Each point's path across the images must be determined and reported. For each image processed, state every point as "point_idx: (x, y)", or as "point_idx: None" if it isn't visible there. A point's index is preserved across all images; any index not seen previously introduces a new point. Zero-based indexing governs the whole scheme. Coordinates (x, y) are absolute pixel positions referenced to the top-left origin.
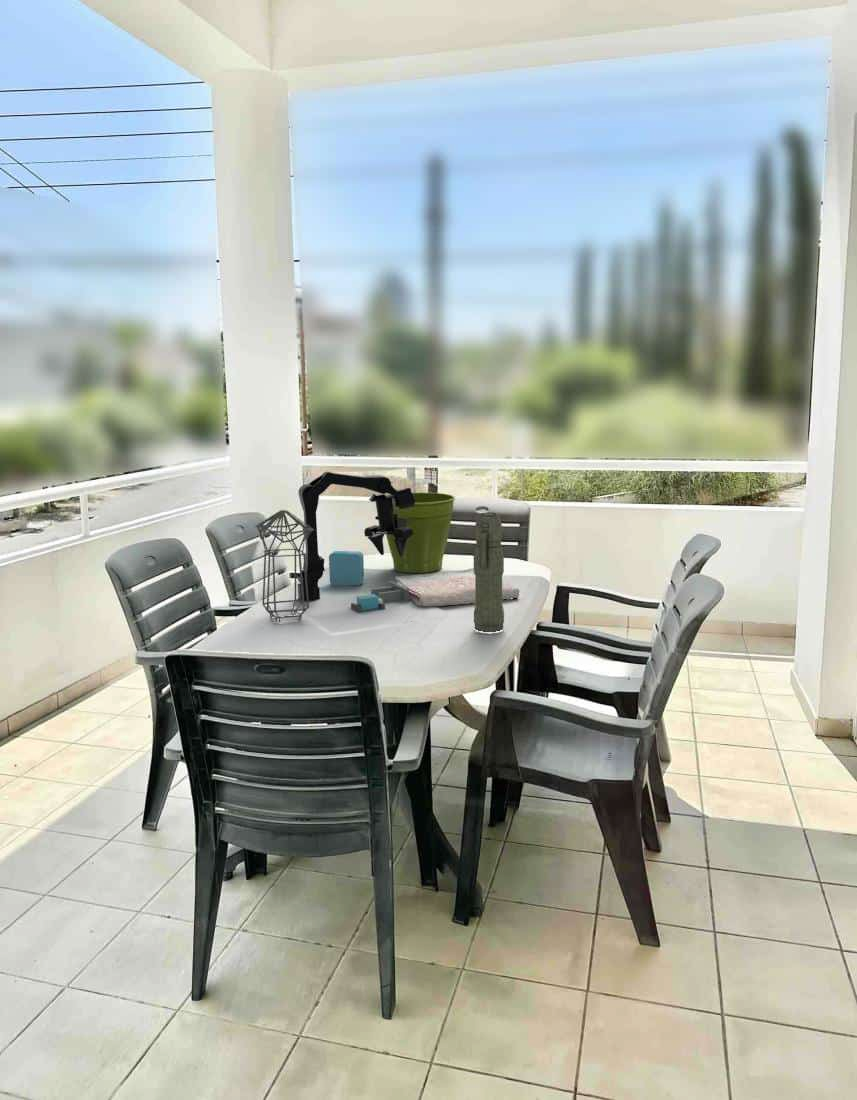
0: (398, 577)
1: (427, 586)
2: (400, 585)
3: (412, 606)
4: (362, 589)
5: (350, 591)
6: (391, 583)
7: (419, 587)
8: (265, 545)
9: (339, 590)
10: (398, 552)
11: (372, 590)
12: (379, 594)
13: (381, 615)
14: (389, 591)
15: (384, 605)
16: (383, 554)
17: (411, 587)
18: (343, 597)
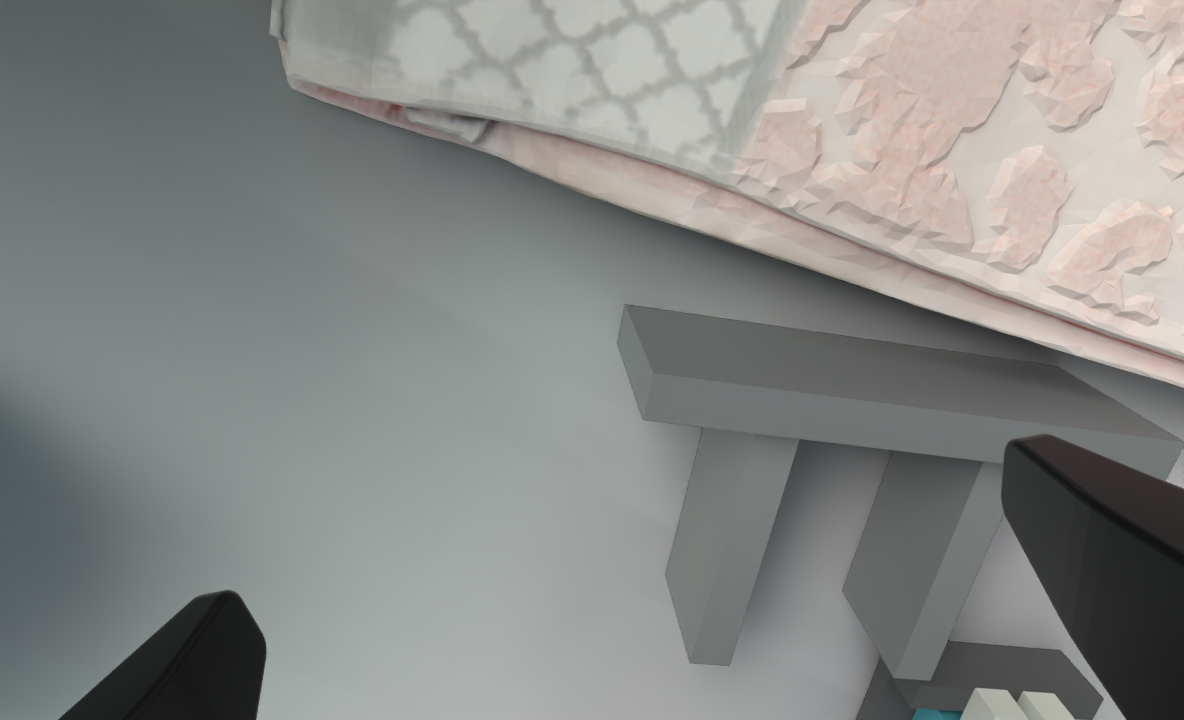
0: (357, 45)
1: (1165, 31)
2: (954, 418)
3: (1149, 393)
4: (141, 427)
5: (168, 567)
6: (740, 428)
7: (1089, 159)
8: None
9: (56, 631)
10: (1100, 662)
11: (728, 658)
12: (914, 669)
13: (1116, 713)
14: (945, 571)
15: (1097, 695)
16: (236, 600)
17: (1004, 254)
18: (383, 708)
